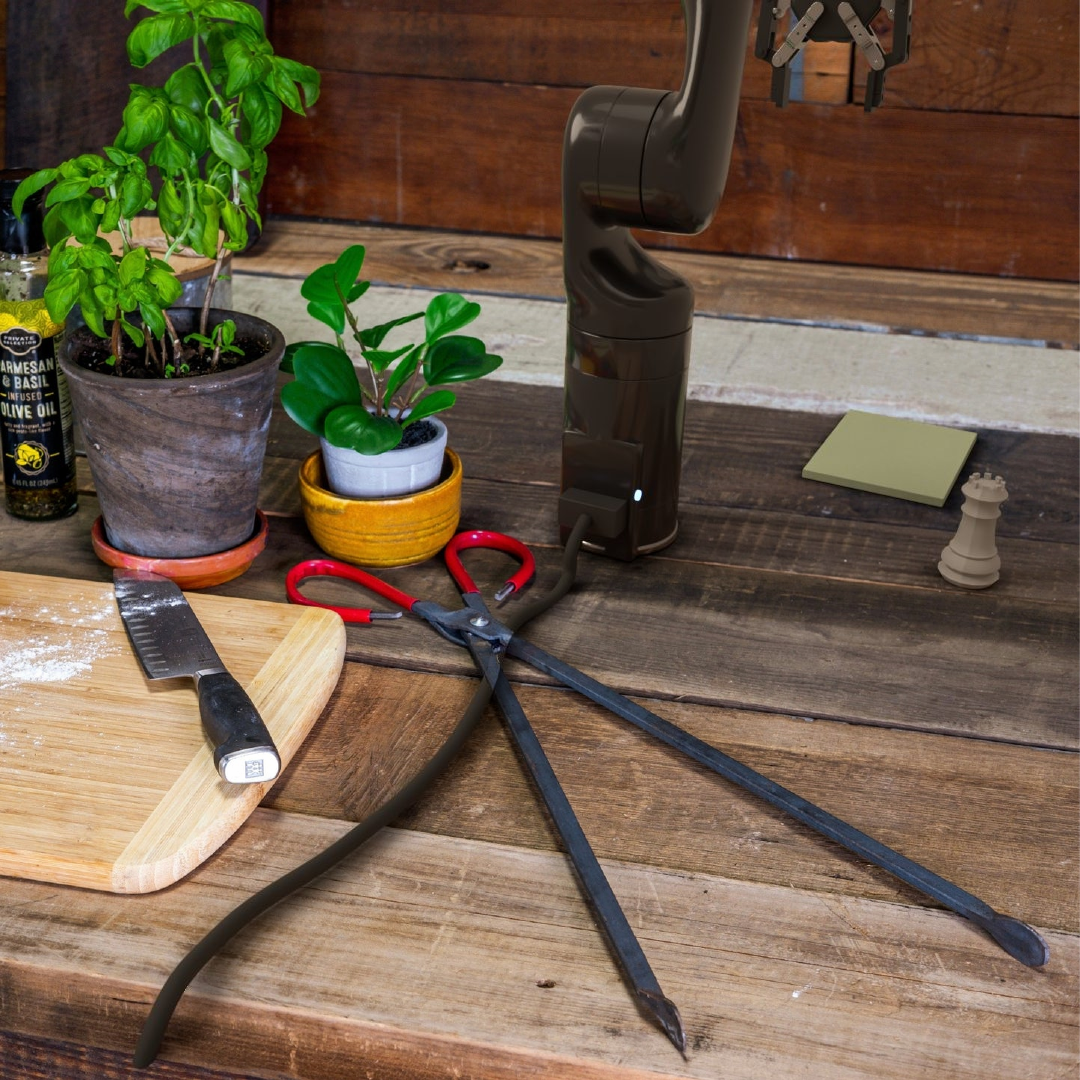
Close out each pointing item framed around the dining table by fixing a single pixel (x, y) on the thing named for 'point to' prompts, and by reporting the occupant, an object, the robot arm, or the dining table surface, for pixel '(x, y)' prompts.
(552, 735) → the dining table surface
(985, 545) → the rook chess piece
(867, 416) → the mat
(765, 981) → the dining table surface
